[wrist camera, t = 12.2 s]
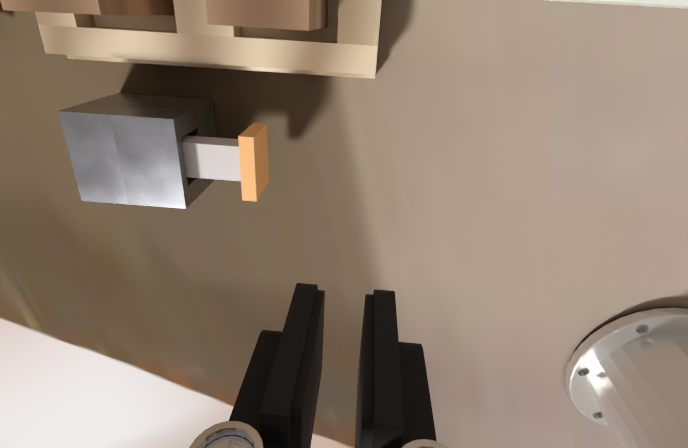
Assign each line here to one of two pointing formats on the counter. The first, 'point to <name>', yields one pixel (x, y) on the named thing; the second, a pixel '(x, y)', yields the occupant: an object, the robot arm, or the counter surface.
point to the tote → (637, 2)
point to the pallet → (221, 40)
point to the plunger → (231, 159)
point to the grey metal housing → (136, 148)
